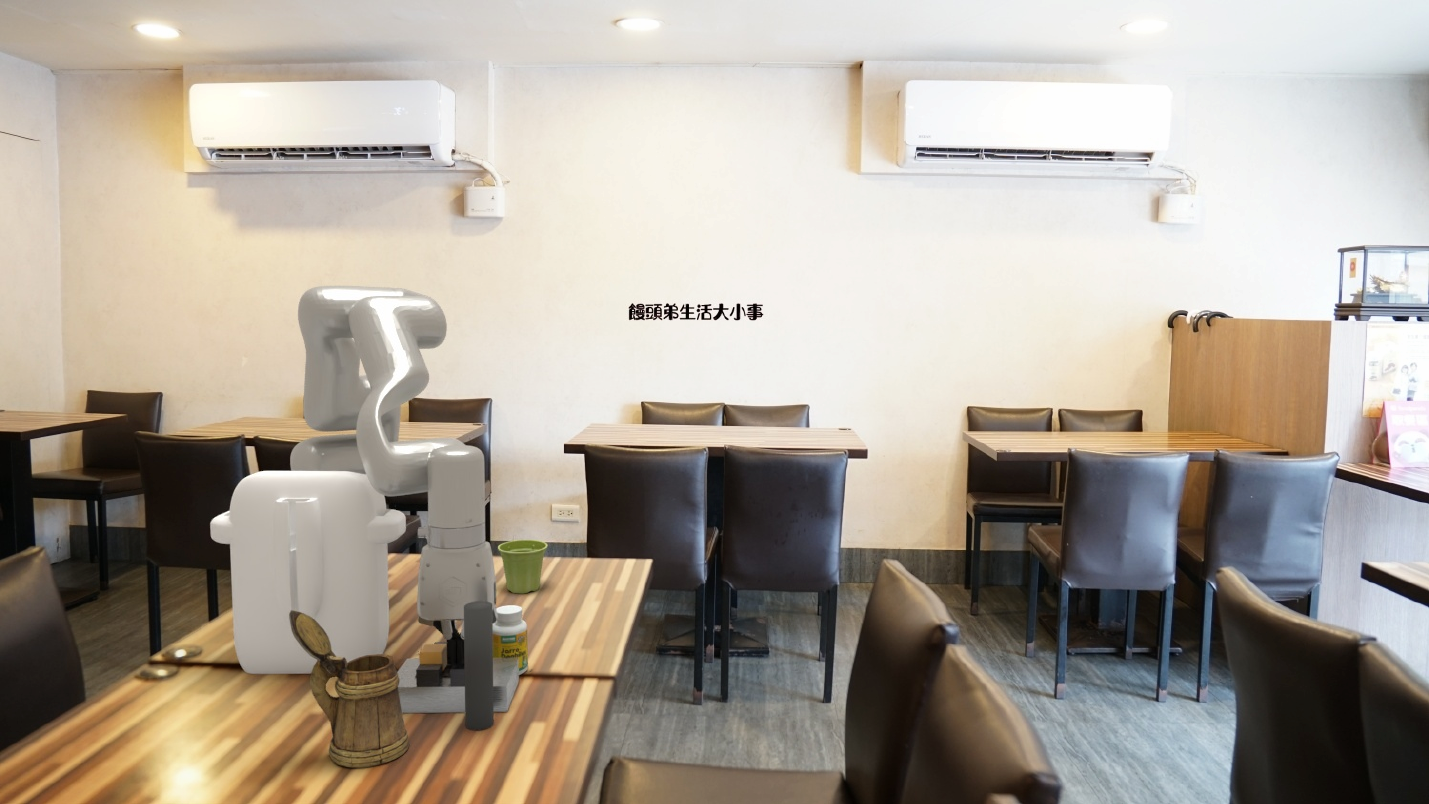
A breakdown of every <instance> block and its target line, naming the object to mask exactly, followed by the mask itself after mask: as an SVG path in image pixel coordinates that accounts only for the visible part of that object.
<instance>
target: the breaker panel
mask: <svg viewBox="0 0 1429 804" xmlns="http://www.w3.org/2000/svg"><path fill="white" fill-rule="evenodd" d="M433 644H447V641H445V642H444V641H443V642H437V641H436V642H434V643H433ZM397 672H398V675H399V680H400V682H399V685H398V691H399V697H400V703H401V709H402V714H421V713H423V714H425V713H426V714H427V713H428V714H429V713H430V714H431V713H433V714H434V713H435V714H436V713H465V664H453V666H452V667H451V659H447V665H446V667H445V669H444V670H443V664H420V658H406V659H405V661H404V662H403V664H401V666H400V668H399V669H398V670H397ZM519 680H520V675H519V658H493V710H494V713H498V712H499V713H502V712H503V713H504V712H506V713H507V712H508V710H509V708H510V705H511V703H512V700H513V697H514V695H515V692H516V689H517V687H518V684H519V682H520V681H519Z"/></svg>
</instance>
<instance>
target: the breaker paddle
mask: <svg viewBox="0 0 1429 804" xmlns="http://www.w3.org/2000/svg"><path fill="white" fill-rule="evenodd" d="M418 654H419V659H420V664H443V670H444V669H445V667H446V665H447V644H434V643H425V644H424V645H423V646H422V647H421V649H420V651H419V652H418Z"/></svg>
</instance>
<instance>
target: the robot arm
mask: <svg viewBox="0 0 1429 804" xmlns="http://www.w3.org/2000/svg"><path fill="white" fill-rule="evenodd" d="M297 320H298V324H299V330H300V333H301V336H302V340H303V343H304V348H305V364H304V365H305V366H304V367H305V368H304V385H303V406H302V407H303V417H304V421H305V423H306V425H307V426H308V427H309V428H310V429H312V430H314V431H317V432H323V433H324V432H344V431H345V432H348V431H355V432H356V433H351V434H350V433H346V434H343V433H342V434H334V435H333V434H332V435H323V436H320V435H319V436H313V437H310V438H307V439H304V440H302V441H299V442H298V443H297V444H296V445H295V446H294V447H293V448H292V450H291V453H290V457H289V459H290V463H289V465H290V471H349V472H355V473H360V474H366V475H367V477H368V479H369V482H370V483H371V485H372V487H373V488H374V489H375V490H376V491H377V492H378V493H380V494H382V495H384V497H385V496H386V497H397V496H398V497H399V496H405V495H413V494H421V493H422V494H423V493H427V503H428V504H427V511H428V513H427V514H428V515H427V516H428V517H427V518H428V519H427V522H428V523H427V524H426V525H425V526H424V527H423V526H420V527H418V529H417V537H419V538H422V537H423V538H425V540H426V542H427V544H426V545H424V546H423V547H422V548H421V553H420V561H419V565H418V566H419V569H418V579H417V595H416V597H417V598H416V611H417V615H418V618H417V621H418V623H419V624H421V625H425V626H429V627H434V628H435V629H436V630H437V631H439V632H440V634H441V635H442V636H443V638H444V639H445V640H446V642H447V659H451V667H452V666H453V664H465V663H464V605H465V604H467V603H470V602H475V601H486V602H490V603H492V615H493V623H495V622H496V621H497V619H498V615H497V611H496V609H497V608H496V605H497V583H496V581H497V580H496V572H495V570H496V569H495V564H494V563H495V562H494V557H493V556H494V555H493V552H492V547H491V544H490V542H488V541H486V497H485V496H486V495H485V493H486V492H485V491H486V490H485V489H486V485H485V483H486V482H485V480H486V479H485V455H484V453H483V450H481V449H480V448H478V447H477V446H473V445H466V444H465V443H464V442H462V441H461V440H459V439H458V438H454V437H438V438H437V437H436V438H427V439H426V438H424V439H422V438H421V439H412V440H411V439H410V440H402V441H399V437H400V425H401V416H402V415H401V413H402V412H401V409H402V405H403V404H405V403H407V402H409V401H412V399H415V398H416V397H418V396H419V395H420V394H421V393H422V392H423V391H424V390H425V389H426V388H427V386H428V385H429V383H430V382H429V381H430V374H429V370H428V368H427V366H426V363H425V361H424V358H423V355H422V352H421V350H425V349H426V350H429V349H432V350H433V349H435V348H438V347H440V346H441V345H442V344H443V342H444V340H446V339H445V338H446V336H447V331H448V329H447V328H448V327H447V325H448V324H447V319H446V315H445V313H444V311H443V309H442V308H441V306H440V304H439V303H438V302H437V301H436V299H433V298H432V297H431V296H428V295H425V294H422V293H418V292H416V291H413V290H410V289H406V288H399V287H385V286H384V287H381V286H379V287H378V286H377V287H376V286H359V285H358V286H357V285H322V286H315V287H312V288H308V289H307V290H306V291H304V292H303V294H302V295H301V297H300V299H299V302H298V309H297ZM361 364H362V367H363V369H364V373H365V375H360V365H361ZM456 621H462V624H461V631H460V632H459V630H458V628H457V624H456V623H457V622H456Z"/></svg>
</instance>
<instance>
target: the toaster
mask: <svg viewBox="0 0 1429 804" xmlns="http://www.w3.org/2000/svg"><path fill="white" fill-rule="evenodd" d="M229 504H230V505H229V510H227V511H225V512H222V513H221V514H218V515H217V516H215V517H214V518H212V519H211V521H210V523H209V526H210V527H209V528H210V537H211V540H213V541H214V542H216V543H219V544H225V545H229V549H230V550H229V551H230V573H231V575H230V577H231V597H232V598H231V599H232V600H231V601H232V626H233V627H232V628H233V642H234V648H235V653H236V656H237V660H238V662H239V664H240V666H241V668H242V670H243V671H244V673H246V674H250V675H251V674H252V675H280V674H283V675H289V674H290V675H292V674H293V675H294V674H295V675H296V674H297V675H298V674H303V675H304V674H310V675H311V672H312V669H313V667H314V665H315V664H316V662H317V659H315V658H313V657H312V656H310V655H309V654H308V653H307V652H306V651H305V650H304V649H303V648H302V647H301V645H300V644H299V643H298V642H297V640H296V639H295V637H294V635H293V633H292V630H291V625H290V619H289V613H290V611H291V610H293V611H298V612H301V613H304V614H306V615H308V616H310V617H312V618H313V619H314V620H315V621H316V622H317V623H318V624H319V625H320V626H321V627H322V628H323V629H324V631H325V632H326V634H327V636H328V638H329V641H330V643H331V650H332V652H333V653H334V654H335V655H336V657H344V658H345V659H346V661H347V663H348V662H350V661H352V660H354V659H356V658H359V657H362V656H366V655H377V654H381V655H384V652H385V650H386V647H387V644H388V638H389V633H390V605H389V604H390V601H389V596H390V595H389V561H388V560H389V558H388V556H389V555H388V551H389V549H388V544H389V543H392V542H395V541H397V540H398V539H399V538H400V537H402V536H403V534H405V533H406V529H407V523H406V522H407V521H406V520H407V517H406V515H405V514H404V512H402V511H401V510H396V509H394V508H393V509H391V508H387V503H386V497H385V495H382V494H380V493H378V492H377V491H376V490H375V489H374V488H373V487H372V485H371V483H370V482H369V479H368V477H367V475H366V474H360V473H355V472H349V471H291V470H263V471H262V470H261V471H256V472H255V473H252V474H249V475H247V476H246V477H244V478H242V479H241V480H240V481H239V482H238V484H237V485H236V487H235V489H234V491H233V493H232V496H231V499H230V503H229Z"/></svg>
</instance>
